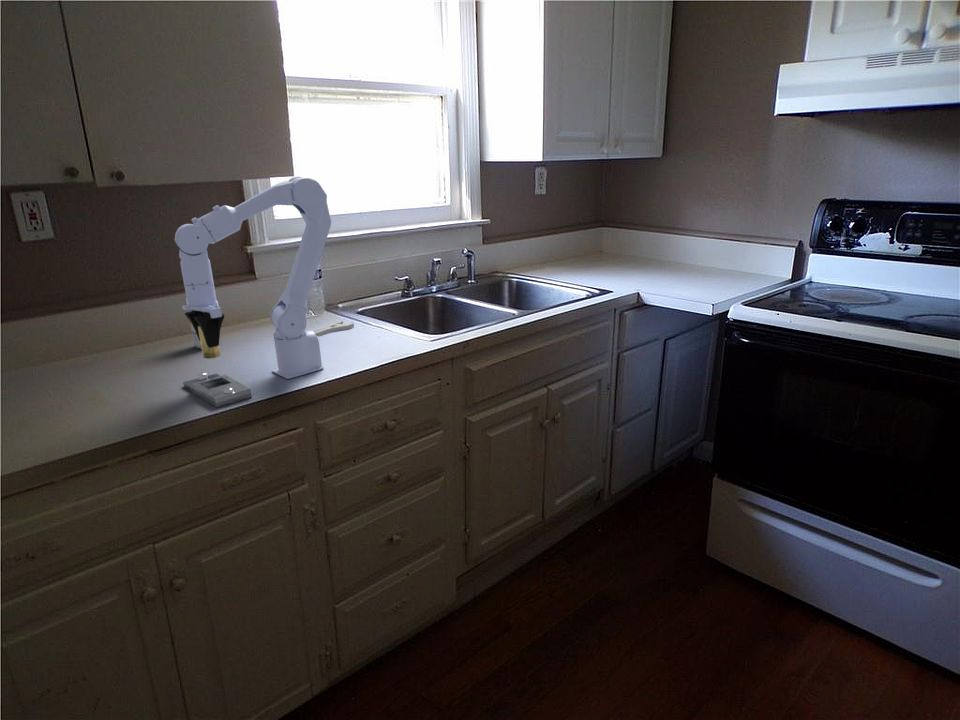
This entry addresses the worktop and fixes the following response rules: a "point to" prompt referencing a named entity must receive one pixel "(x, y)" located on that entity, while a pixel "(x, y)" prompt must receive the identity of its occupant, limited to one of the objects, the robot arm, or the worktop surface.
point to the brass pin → (207, 351)
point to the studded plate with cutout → (218, 389)
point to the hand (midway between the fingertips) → (209, 344)
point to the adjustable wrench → (334, 328)
